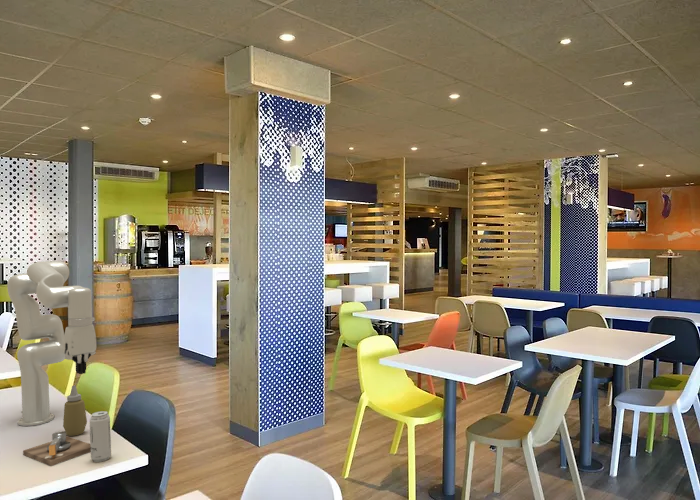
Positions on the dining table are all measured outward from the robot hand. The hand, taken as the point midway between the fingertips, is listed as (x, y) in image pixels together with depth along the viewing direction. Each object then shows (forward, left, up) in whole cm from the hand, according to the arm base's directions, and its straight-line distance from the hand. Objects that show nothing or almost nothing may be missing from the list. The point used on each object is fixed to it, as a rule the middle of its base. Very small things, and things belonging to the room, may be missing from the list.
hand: (81, 373), depth 190 cm
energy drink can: (+21, -6, -25) cm, 33 cm away
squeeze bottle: (-11, +3, -25) cm, 27 cm away
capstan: (+6, -13, -23) cm, 27 cm away
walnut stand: (+3, -10, -25) cm, 27 cm away
